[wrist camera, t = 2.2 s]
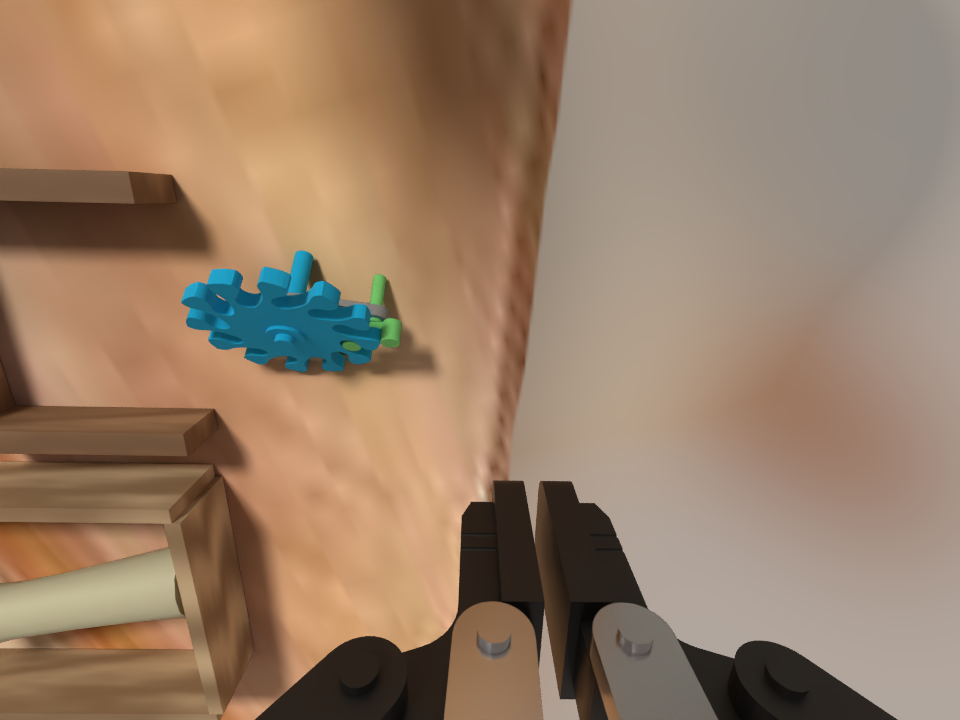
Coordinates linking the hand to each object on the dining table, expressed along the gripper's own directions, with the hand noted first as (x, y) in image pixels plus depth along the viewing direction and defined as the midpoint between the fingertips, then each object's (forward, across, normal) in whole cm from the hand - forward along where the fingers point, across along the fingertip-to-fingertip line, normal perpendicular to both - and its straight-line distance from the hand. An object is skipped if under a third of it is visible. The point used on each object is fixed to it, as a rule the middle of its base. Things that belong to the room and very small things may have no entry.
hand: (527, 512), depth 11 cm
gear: (+19, +11, 0) cm, 22 cm away
